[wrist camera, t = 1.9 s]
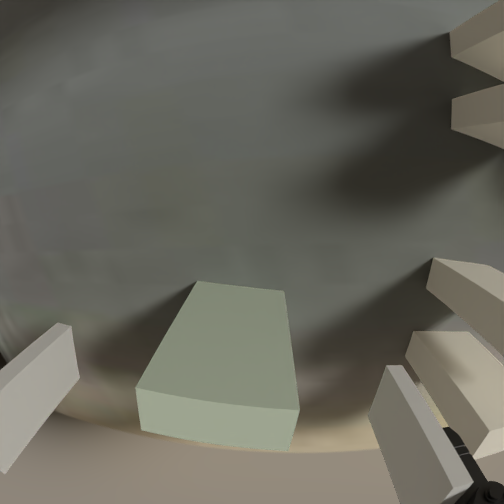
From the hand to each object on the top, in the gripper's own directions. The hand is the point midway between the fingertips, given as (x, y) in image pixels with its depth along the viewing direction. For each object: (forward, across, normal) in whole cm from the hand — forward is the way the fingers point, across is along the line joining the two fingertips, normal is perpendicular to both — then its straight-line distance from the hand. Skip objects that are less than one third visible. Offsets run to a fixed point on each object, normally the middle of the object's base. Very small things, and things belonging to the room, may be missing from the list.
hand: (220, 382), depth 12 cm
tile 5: (+7, +14, -1) cm, 16 cm away
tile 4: (+7, +14, +4) cm, 16 cm away
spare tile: (+7, 0, +1) cm, 7 cm away
